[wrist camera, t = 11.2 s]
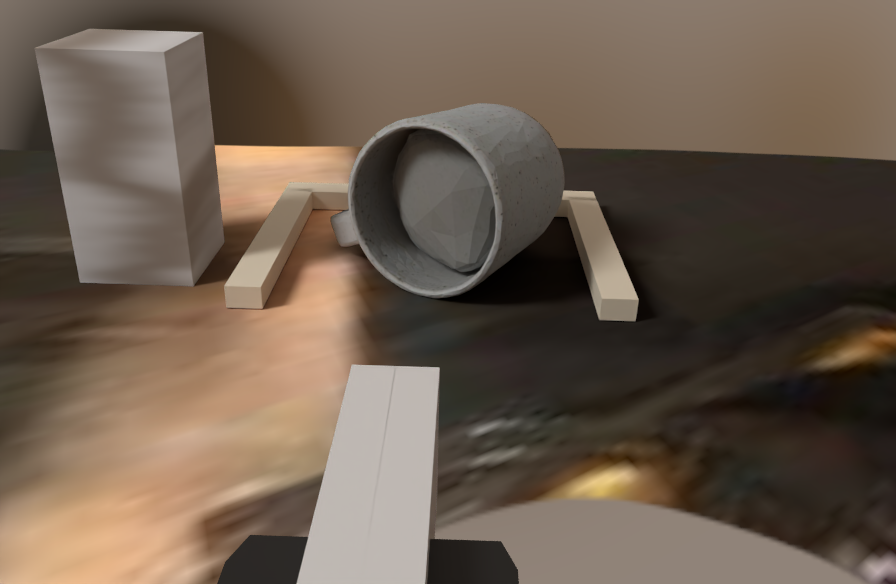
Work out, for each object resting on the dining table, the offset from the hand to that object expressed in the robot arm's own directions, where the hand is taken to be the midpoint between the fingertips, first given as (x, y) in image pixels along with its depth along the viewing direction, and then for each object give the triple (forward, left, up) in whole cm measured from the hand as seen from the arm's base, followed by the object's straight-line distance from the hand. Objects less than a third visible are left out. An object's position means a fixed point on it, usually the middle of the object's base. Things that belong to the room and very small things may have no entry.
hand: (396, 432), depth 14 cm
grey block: (+13, -23, -7) cm, 27 cm away
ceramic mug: (0, -24, -7) cm, 25 cm away
